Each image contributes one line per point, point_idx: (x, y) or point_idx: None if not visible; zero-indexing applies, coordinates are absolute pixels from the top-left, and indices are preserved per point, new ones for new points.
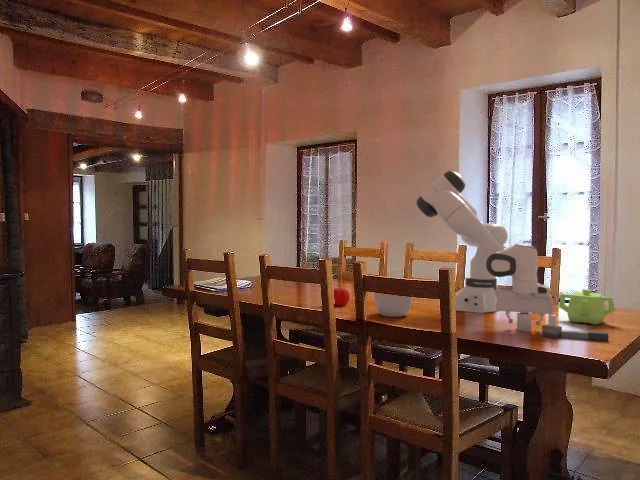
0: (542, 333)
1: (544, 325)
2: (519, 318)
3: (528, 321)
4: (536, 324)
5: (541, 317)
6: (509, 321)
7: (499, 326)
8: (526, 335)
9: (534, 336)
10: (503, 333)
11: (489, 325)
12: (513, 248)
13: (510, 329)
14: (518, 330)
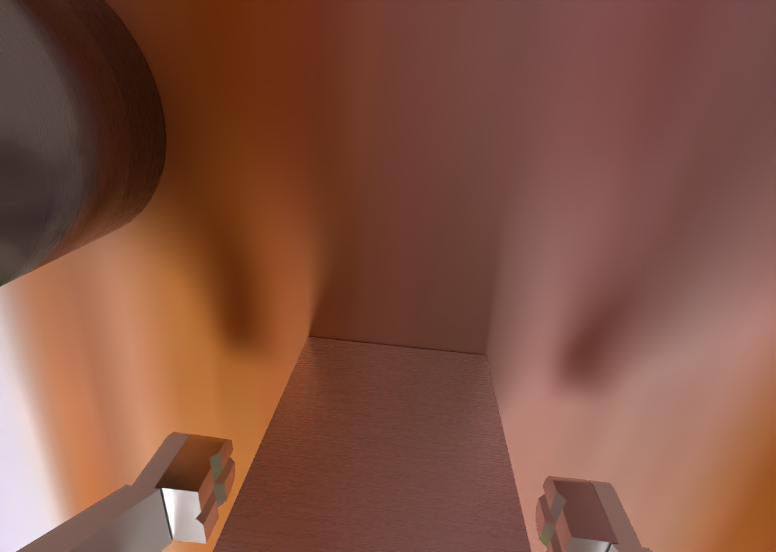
0: (122, 71)
1: (4, 193)
2: (475, 501)
3: (315, 443)
4: (214, 439)
5: (64, 537)
6: (607, 500)
7: (646, 514)
8: (391, 68)
9: (268, 20)
10: (756, 127)
11: (752, 539)
12: None
13: (554, 404)
14: (466, 354)
